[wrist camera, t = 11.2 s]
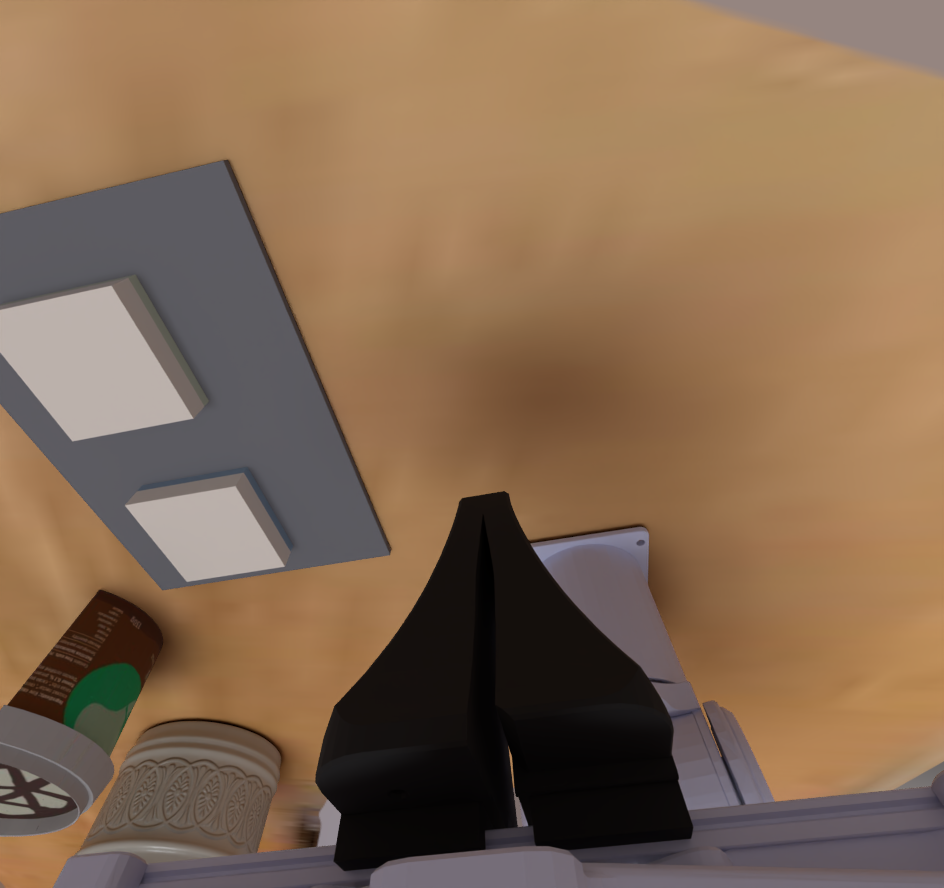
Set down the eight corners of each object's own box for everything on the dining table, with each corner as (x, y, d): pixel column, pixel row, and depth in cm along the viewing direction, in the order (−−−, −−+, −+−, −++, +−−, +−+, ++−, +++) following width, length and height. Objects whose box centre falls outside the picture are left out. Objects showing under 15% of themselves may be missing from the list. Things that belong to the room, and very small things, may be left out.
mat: (390, 550, 29) (390, 555, 29) (165, 585, 30) (162, 590, 30) (227, 159, 17) (223, 160, 17) (-127, 244, 19) (-137, 246, 18)
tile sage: (193, 418, 21) (72, 441, 22) (209, 401, 23) (94, 423, 23) (111, 285, 18) (-30, 316, 18) (135, 274, 19) (3, 303, 20)
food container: (156, 692, 38) (70, 852, 29) (70, 668, 35) (-48, 835, 27) (203, 609, 32) (113, 779, 24) (104, 576, 30) (-32, 750, 22)
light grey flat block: (285, 566, 27) (187, 581, 27) (293, 545, 28) (199, 560, 29) (235, 486, 23) (124, 505, 24) (247, 466, 25) (142, 485, 25)
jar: (103, 727, 40) (-97, 1068, 26) (243, 707, 39) (115, 1054, 25) (186, 788, 48) (66, 1081, 33) (307, 773, 46) (238, 1071, 32)
